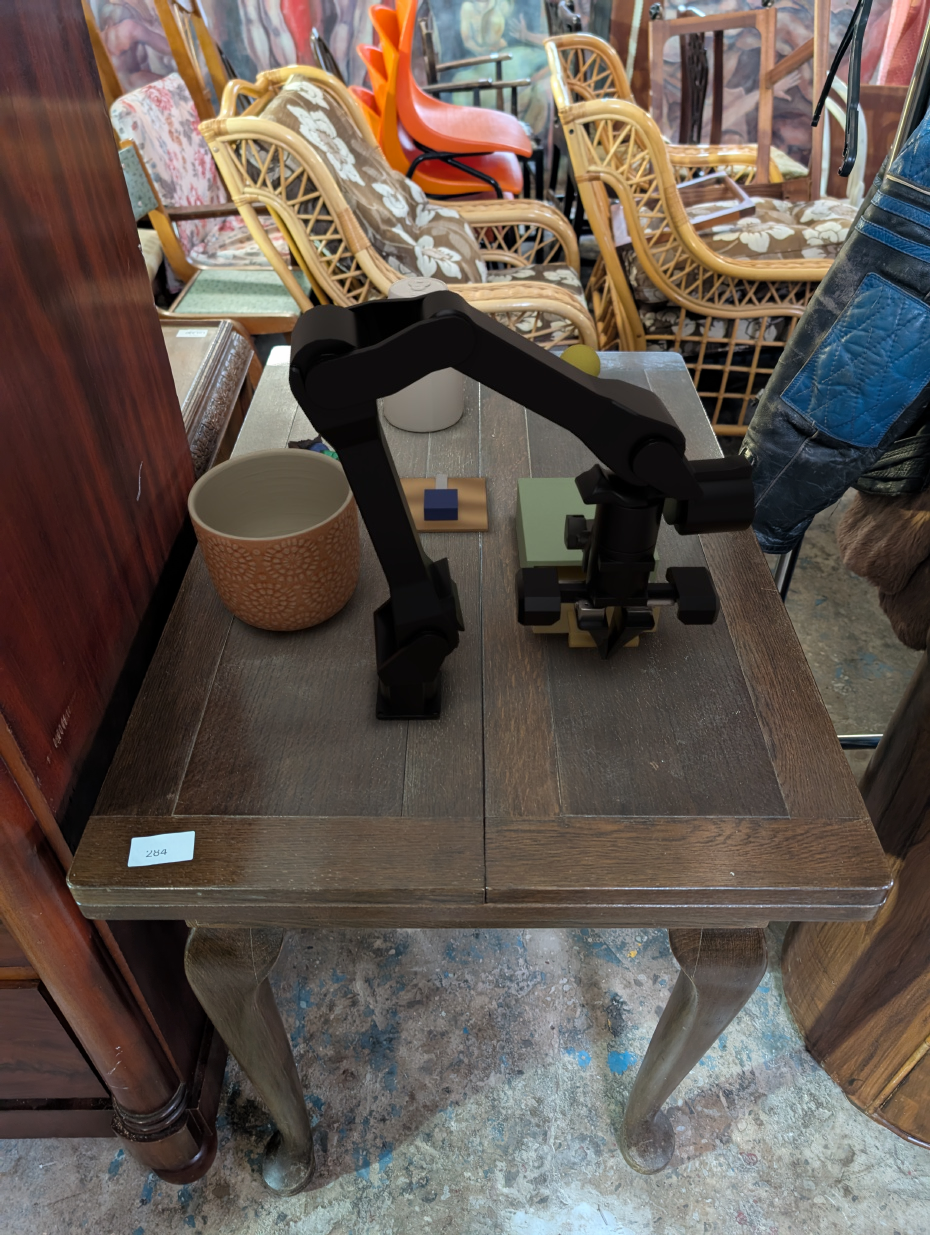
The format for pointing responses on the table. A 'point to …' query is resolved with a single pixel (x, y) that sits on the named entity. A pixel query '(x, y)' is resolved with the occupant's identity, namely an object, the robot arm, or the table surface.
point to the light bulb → (583, 359)
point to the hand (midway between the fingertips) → (604, 657)
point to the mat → (469, 504)
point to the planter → (278, 536)
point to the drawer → (569, 620)
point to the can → (425, 380)
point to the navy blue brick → (440, 501)
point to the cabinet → (550, 522)
